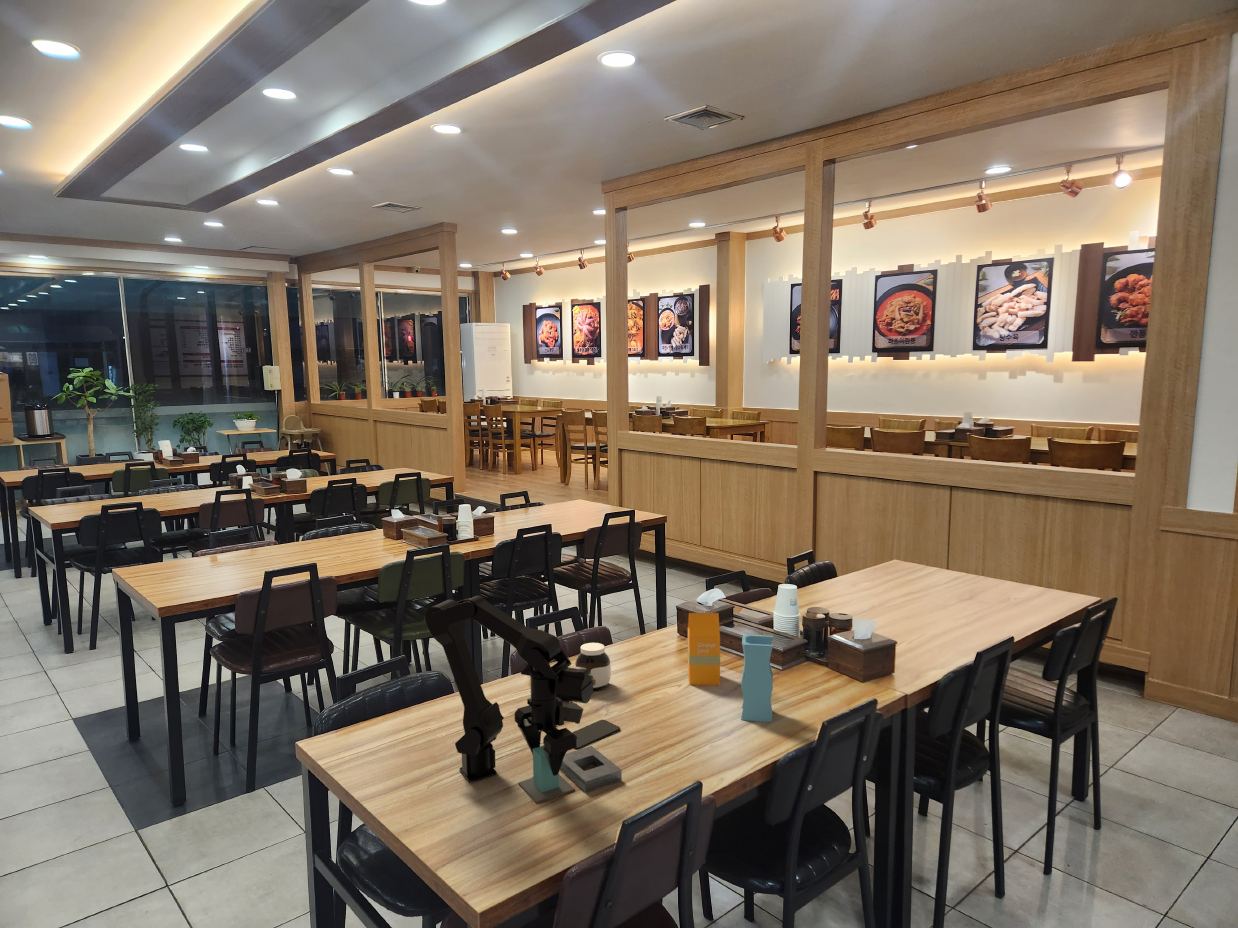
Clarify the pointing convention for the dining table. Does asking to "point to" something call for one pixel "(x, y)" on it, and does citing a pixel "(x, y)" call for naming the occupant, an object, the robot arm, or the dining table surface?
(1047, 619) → the dining table surface
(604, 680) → the spread jar
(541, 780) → the teal square block
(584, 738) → the smartphone
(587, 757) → the gray rectangular frame
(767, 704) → the vase
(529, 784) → the dark gray square pad
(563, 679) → the robot arm
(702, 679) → the orange juice
